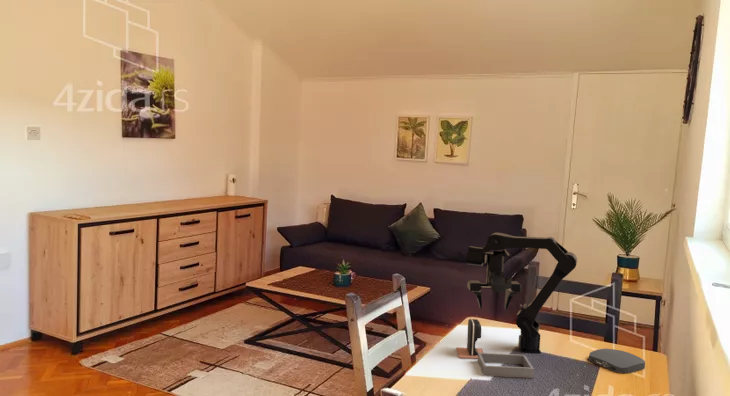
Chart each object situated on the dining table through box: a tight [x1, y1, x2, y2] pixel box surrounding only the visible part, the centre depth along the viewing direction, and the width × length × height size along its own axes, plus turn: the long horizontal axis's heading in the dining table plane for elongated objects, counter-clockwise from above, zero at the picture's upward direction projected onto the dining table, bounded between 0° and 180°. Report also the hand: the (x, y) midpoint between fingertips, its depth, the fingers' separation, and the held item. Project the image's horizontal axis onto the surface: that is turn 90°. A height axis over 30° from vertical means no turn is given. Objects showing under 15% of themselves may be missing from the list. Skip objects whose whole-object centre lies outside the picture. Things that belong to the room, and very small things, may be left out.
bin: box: [476, 352, 535, 379], centre depth 174 cm, size 16×12×3 cm
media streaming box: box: [588, 348, 646, 374], centre depth 182 cm, size 15×15×3 cm
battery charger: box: [466, 318, 482, 356], centre depth 186 cm, size 7×4×11 cm, turn 178°
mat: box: [455, 346, 485, 360], centre depth 186 cm, size 9×9×1 cm
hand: (493, 309), depth 197 cm, fingers open, 9 cm apart
